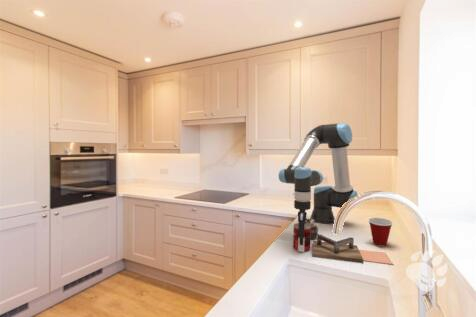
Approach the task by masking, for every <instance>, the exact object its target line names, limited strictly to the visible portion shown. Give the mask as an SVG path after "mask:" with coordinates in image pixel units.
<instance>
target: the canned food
mask: <svg viewBox="0 0 476 317" xmlns="http://www.w3.org/2000/svg"><path fill="white" fill-rule="evenodd" d="M292 232H293V244H292V245H293V249H294V250H296V251H298V237H297V236H298V232H299V222H298V223H294V224H293V231H292ZM304 237H305V240H304V252H308V251H310V250H311V240H310V238H311V227H310V225H308V224H305V225H304Z"/></svg>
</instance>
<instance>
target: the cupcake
mask: <svg viewBox="0 0 476 317" xmlns="http://www.w3.org/2000/svg"><path fill="white" fill-rule="evenodd" d="M305 224H308V225H310V227H311V238H310V241H316V240H317V234H319V228H318V226H317V224H316V222H314V220H313V219H312V218H311V217H310V218H306V223H305Z"/></svg>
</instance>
